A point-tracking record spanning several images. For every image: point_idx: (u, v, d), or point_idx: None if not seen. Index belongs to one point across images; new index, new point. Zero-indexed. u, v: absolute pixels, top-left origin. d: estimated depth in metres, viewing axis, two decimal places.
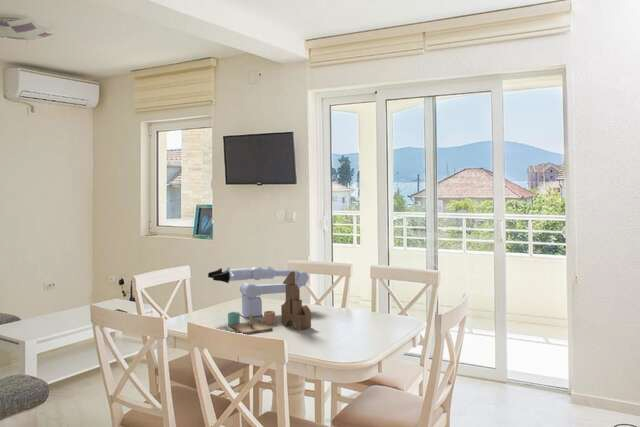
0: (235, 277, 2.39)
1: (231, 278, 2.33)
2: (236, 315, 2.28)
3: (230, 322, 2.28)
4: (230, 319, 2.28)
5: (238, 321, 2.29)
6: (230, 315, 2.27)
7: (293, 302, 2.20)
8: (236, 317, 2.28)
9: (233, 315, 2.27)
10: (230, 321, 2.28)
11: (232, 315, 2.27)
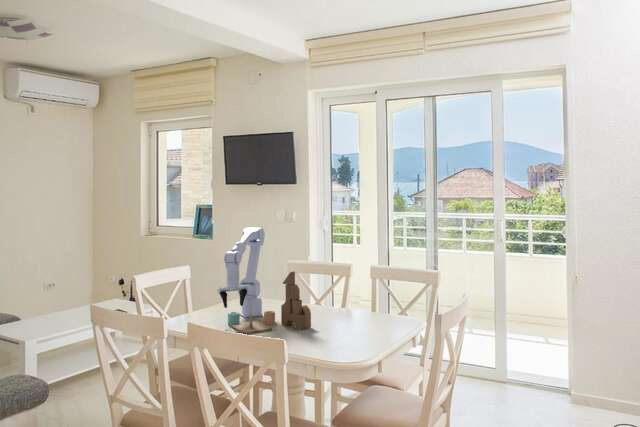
0: None
1: None
2: (236, 315, 2.28)
3: (230, 322, 2.28)
4: (230, 319, 2.28)
5: (238, 321, 2.29)
6: (230, 315, 2.27)
7: (293, 302, 2.20)
8: (236, 317, 2.28)
9: (233, 315, 2.27)
10: (230, 321, 2.28)
11: (232, 315, 2.27)
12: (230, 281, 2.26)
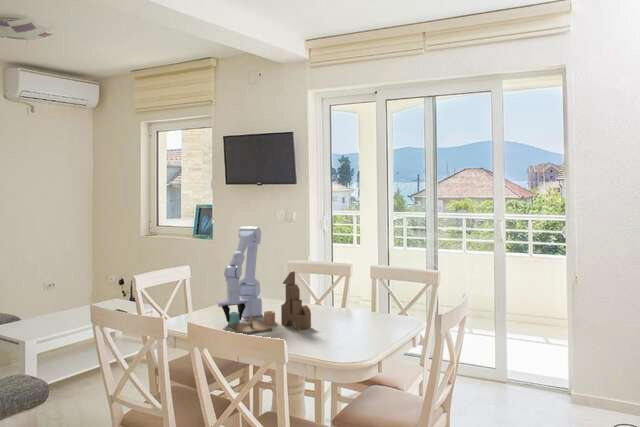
0: None
1: None
2: (236, 315, 2.28)
3: (230, 322, 2.28)
4: (230, 319, 2.28)
5: (238, 321, 2.29)
6: (230, 315, 2.27)
7: (293, 302, 2.20)
8: (236, 317, 2.28)
9: (233, 315, 2.27)
10: (230, 321, 2.28)
11: (232, 315, 2.27)
12: (231, 295, 2.27)
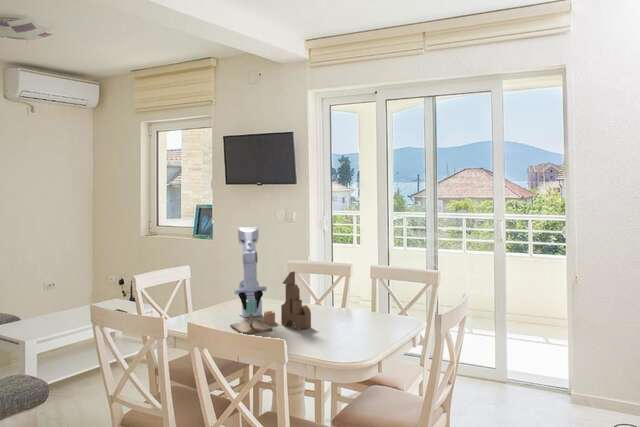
0: None
1: None
2: (253, 303, 2.19)
3: (247, 310, 2.19)
4: (247, 307, 2.19)
5: (255, 309, 2.20)
6: (247, 303, 2.19)
7: (293, 302, 2.20)
8: (253, 305, 2.19)
9: (250, 303, 2.18)
10: (247, 309, 2.19)
11: (249, 303, 2.18)
12: (248, 282, 2.18)
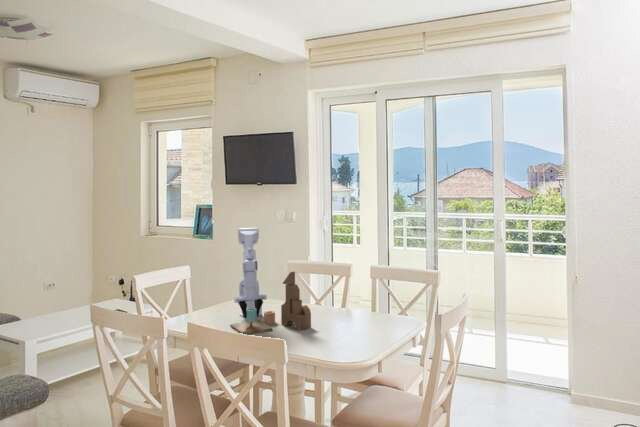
0: None
1: None
2: (253, 311, 2.19)
3: (247, 319, 2.19)
4: (247, 315, 2.19)
5: (255, 318, 2.20)
6: (247, 311, 2.19)
7: (293, 302, 2.20)
8: (253, 313, 2.19)
9: (250, 311, 2.18)
10: (247, 317, 2.19)
11: (249, 311, 2.18)
12: (248, 291, 2.18)
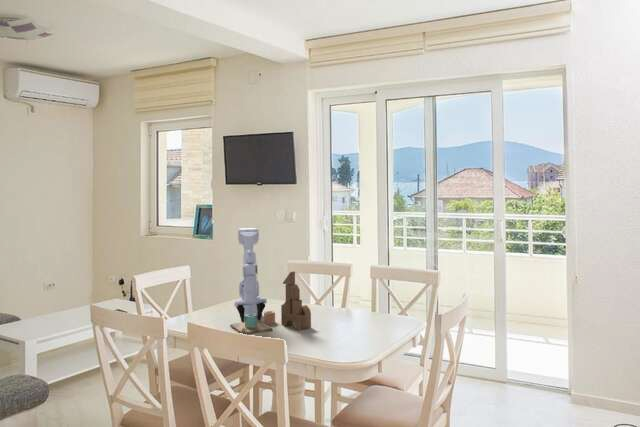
0: None
1: None
2: (253, 317, 2.19)
3: (247, 324, 2.19)
4: (247, 321, 2.19)
5: (255, 323, 2.20)
6: (247, 317, 2.19)
7: (293, 302, 2.20)
8: (253, 319, 2.19)
9: (250, 317, 2.18)
10: (247, 323, 2.19)
11: (249, 317, 2.18)
12: (248, 295, 2.18)
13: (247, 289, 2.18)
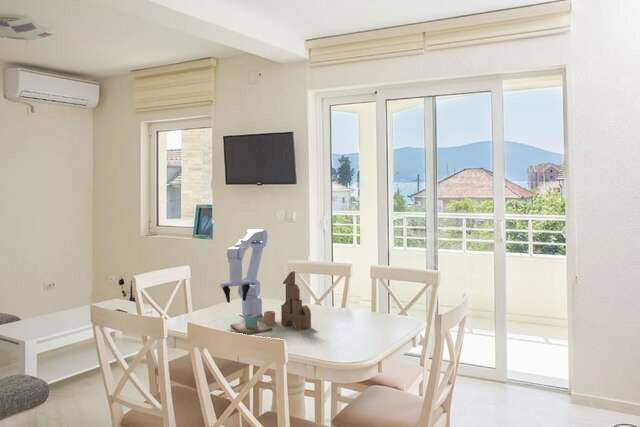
0: None
1: None
2: (253, 317, 2.19)
3: (247, 324, 2.19)
4: (247, 321, 2.19)
5: (255, 323, 2.20)
6: (247, 317, 2.19)
7: (293, 302, 2.20)
8: (253, 319, 2.19)
9: (250, 317, 2.18)
10: (247, 323, 2.19)
11: (249, 317, 2.18)
12: (233, 276, 2.29)
13: (230, 271, 2.30)
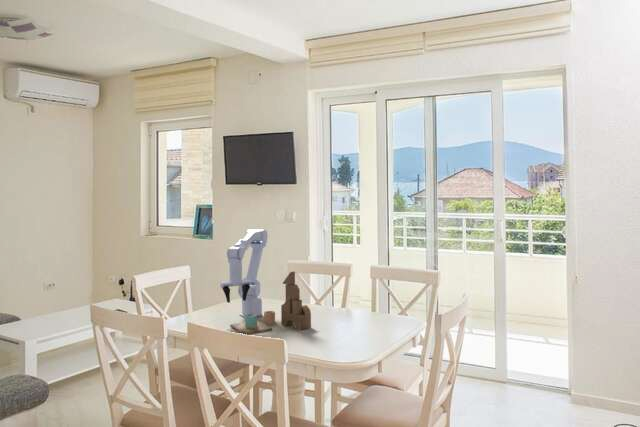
0: None
1: None
2: (253, 317, 2.19)
3: (247, 324, 2.19)
4: (247, 321, 2.19)
5: (255, 323, 2.20)
6: (247, 317, 2.19)
7: (293, 302, 2.20)
8: (253, 319, 2.19)
9: (250, 317, 2.18)
10: (247, 323, 2.19)
11: (249, 317, 2.18)
12: (233, 276, 2.29)
13: (230, 271, 2.30)
